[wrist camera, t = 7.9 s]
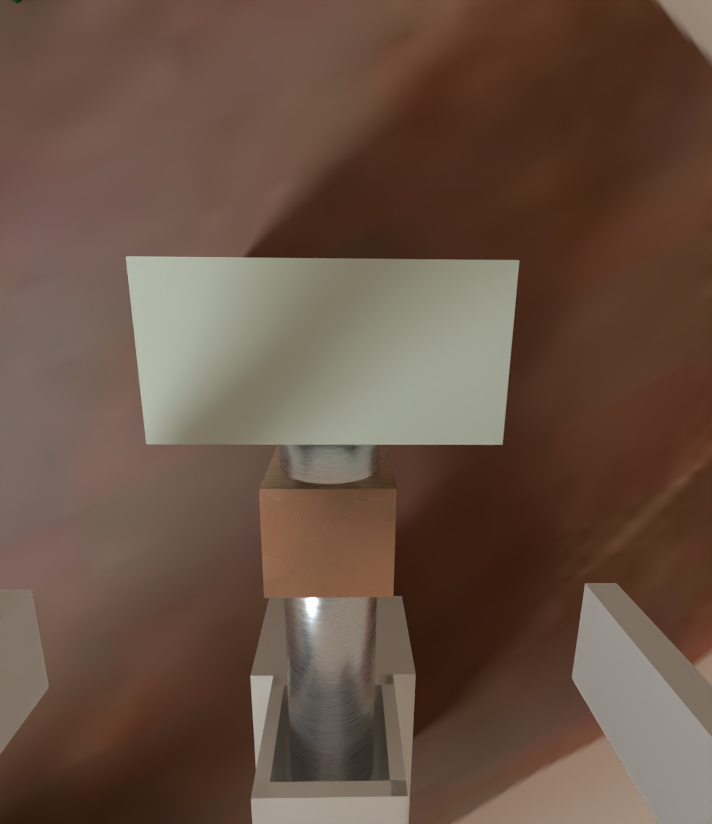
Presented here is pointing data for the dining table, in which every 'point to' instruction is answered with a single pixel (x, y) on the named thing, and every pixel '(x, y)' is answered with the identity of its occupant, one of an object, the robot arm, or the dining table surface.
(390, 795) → the sleeve
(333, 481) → the tube
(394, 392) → the socket block
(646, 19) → the dining table surface
